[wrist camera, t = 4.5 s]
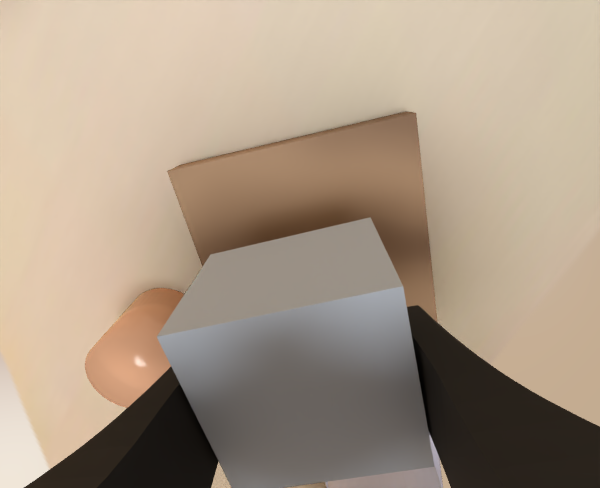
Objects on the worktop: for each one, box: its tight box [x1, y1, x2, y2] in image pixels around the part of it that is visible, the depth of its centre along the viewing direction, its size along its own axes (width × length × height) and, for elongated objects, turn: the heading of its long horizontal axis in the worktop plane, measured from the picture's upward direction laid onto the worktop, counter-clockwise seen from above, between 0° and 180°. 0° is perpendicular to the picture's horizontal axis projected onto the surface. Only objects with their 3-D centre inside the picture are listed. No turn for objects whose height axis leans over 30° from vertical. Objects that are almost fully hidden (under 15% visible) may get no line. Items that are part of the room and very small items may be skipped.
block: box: [157, 217, 434, 488], centre depth 11 cm, size 6×6×4 cm
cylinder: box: [85, 288, 184, 408], centre depth 19 cm, size 4×4×4 cm
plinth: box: [167, 112, 437, 322], centre depth 18 cm, size 11×11×2 cm
